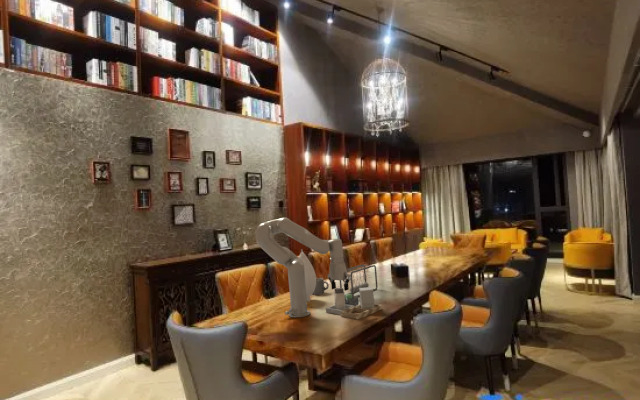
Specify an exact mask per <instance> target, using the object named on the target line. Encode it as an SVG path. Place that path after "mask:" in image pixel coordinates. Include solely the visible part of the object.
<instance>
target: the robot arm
mask: <svg viewBox="0 0 640 400" xmlns="http://www.w3.org/2000/svg"><path fill="white" fill-rule="evenodd" d="M280 233H283V234H284V235H285V236H288V237H290V238H291V239H293V240H295V241H297V243H300V244H302V245H303V246H305V247H306V248H309V249H311V250H312V251H314V252H316V253H317V254H320V255H326V254H328V252H329V257H330V258H329V260H330V263H329V273H328V274H327V275H326V276H327V279H328V280H329V282H330V283H331V284H330V287H331V290H335V289H336V288H337V284H336V283H337V282H336V281H339V282H340V281H341V282H342V281H343V282H342V283H343V290H344V292H345V291H349V290H350V288H349V283H350V282H351V280H350V279H351V276H350V275H349V274H350V273H348V271H347V270H346V269H347V267H346V262H345V260H344V252H343V250H344V249H343V244H342V243H343V241H342V239H341V238H332V239H321V238H319V237H318V236H316V235H314V234H313V233H311V232H310V231H309V230H308V229H307V228H305V227H303V226H301V225H299V224H298V223H296V222H294V221H292V220H290V218H288V217H281V218H278V219H272V220H269V221H265V222H262V223H259V225H258V226H257V228H256V231H255V240H256V243H257V245H258V246H259V247H260V248H261V249H262V250H263V251H264V252H265V253H266V254H267V255H268V256H269V257H270V258H272V259H273V260H274V261H275V262H276V263H277V264H278V265H282V266H283V267H284V268H286V269H287V276H288V288H289V300H290V307H289V309H288V310H287V311H285V312H284V315H286V316H287V315H288V316H289V317H290V318H304V317H308V316H310V314H311V311H310V310H308V303H307V299H306V285H305V269H304V263H303V261H302V260H301V259H300V258H299V256H297V254H295V253H294V252H293V251H292V250H290V249H289V248H288V247H286V246H282V245H280V243H278V242H277V241H276V240H275V239H274V238H272V235H277V234H280Z"/></svg>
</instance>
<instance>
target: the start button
mask: <svg viewBox="0 0 640 400" xmlns="http://www.w3.org/2000/svg"><path fill="white" fill-rule="evenodd" d="M344 295H345V294H344ZM345 296H346V299H351V298H352V294H348V293H346V295H345Z"/></svg>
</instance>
